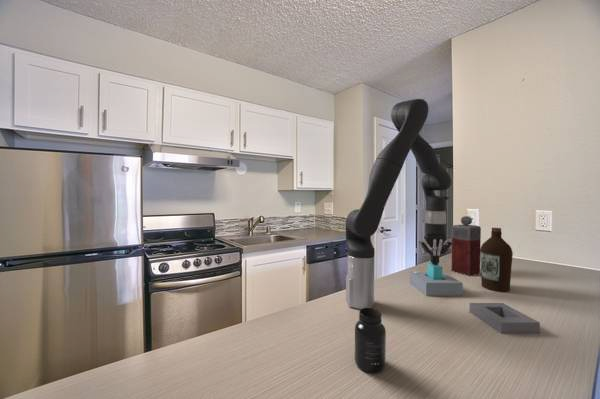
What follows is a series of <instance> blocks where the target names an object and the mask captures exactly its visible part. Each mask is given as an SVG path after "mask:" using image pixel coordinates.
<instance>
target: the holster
mask: <svg viewBox="0 0 600 399" xmlns="http://www.w3.org/2000/svg"><path fill="white" fill-rule="evenodd" d="M468 311H469V313H471V314H472V315H473V316H475V317H477V318H478V319H479V320H481V321H482V322H484V323H485V324H487V325H488V326H489V327H491V328H492V329H494V330H495V331H496V332H498V333H500V334H540V332H541V331H540V329H541V322H539V321H538V320H536V319H534V318H532V317H531V316H528V315H526V314H525V313H523V312H521V311H519V310H517V309H515V308H513V307H512V306H509V305H507V304H506V303H504V302H469V310H468Z"/></svg>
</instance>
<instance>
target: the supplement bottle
mask: <svg viewBox="0 0 600 399" xmlns="http://www.w3.org/2000/svg"><path fill="white" fill-rule="evenodd" d="M358 311H359V312H358V314H359V315H358V321H356V323H355V325H354V362H355V364H356V366H357V367H358V368H359V369H360V370H361V369H362V371H363V372H365V371H366V373H369V374H377V373H381V372H382V371H384V369H385V368H386V359H387V358H386V352H387V350H386V348H387V347H386V346H387V345H386V344H387V342H386V340H387V337H386V335H387V334H386V333H387V330H386V327H385V325H384V324H383V323H382V313H381V311H379V310H378V309H376V308H373V307H372V308H363V309H359V310H358Z"/></svg>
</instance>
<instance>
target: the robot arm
mask: <svg viewBox="0 0 600 399" xmlns="http://www.w3.org/2000/svg"><path fill="white" fill-rule="evenodd" d="M428 115H429V104H428V102H427V100H425V99H423V98H414V99H410V100H409V99H408V100H405V101H400V102H398V103H396V104H395V105H393V107H392V108H391V112H390V118H391V121H392V123H393V125H394V127H395V128H396V130H397V132H398V133H397V135H395V137H394V138H393V139H391V141H390V142H389V143H388V144H387V145H386V146H385V147H384V148H383V149H381V151H380V152H379V153H378V155H377V156H376V158H375V161H374V163H373V165H372V168H371V170H370V172H369V173H370V174H369V178H368V187H367V192H366V196H365V198H364V199H363V202H362V204H361V206H360V207H359V209H358V208H357V209H353V210H351V211H350V212H349V213H348V214H347V216H346V220H345V245H346V248H347V274H346V275H345V301H346V304H347V306H348V307H349V308H355V309H357V310H361V309H363V308H373V307H375V258H376V257H375V253H376V252H375V247H374V246H373V243H372V236H373V235H374V234H376V232H377V231H378V229H379V225H380V223H381V219H382V216H383V213H384V211H385V207H386V205H387V201H388V200H389V197H390V195H391V193H392V191H393V189H394V187H395V184H396V182H397V180H398V178H399V176H400V173H401V172H402V169H403V167H404V164H405V161H406V160H407V157H408V155H409V153H410V151H411V153H412V154H413V156H414V158H415V161H416V163H417V165H418V168H419V170H420V171H421V173H423V174H424V175H423V176H422V179H421V187H422V191H423V194H424V197H425V216H424V219H425V220H424V222H425V224H424V234H425V235H424V237H423V239H422V240H421V241H418V245H420V246H421V248H422V250H424V252H425V253H426V254H429V255H430V263H432V264H433V265H439V264H440V256H441V255H445V254H446V252H447V251H448V250H449V248H450V247H452V241H449V240H448V239H447V236H446V234H447V213H446V202H447V200H446V198H445V197H444V196H439V195H437V194H436V193H435V191H447V190H448V189H450V187H451V186H452V178H451V176H450V174H449V172H448V171H447V170H446V169H445V168H444V167H443V165H442V164H441V163H440V162H439V159H438V156H437V154H436V152H435V150H434V148H433V146H431V144H429V142H428V141H426V140H425V138H424V137H422V136H421V135H420V134H419V133H420V132H421V130H422V128H423V127H424V125H425V123H426V121H427V119H428Z"/></svg>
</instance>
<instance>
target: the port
mask: <svg viewBox="0 0 600 399" xmlns="http://www.w3.org/2000/svg"><path fill="white" fill-rule="evenodd" d="M463 283H464V282H462V281H460V280H458V279H457V278H454V277H453V276H451V275H449V274H448V273H445V272H443V271H442V280H432V279H430V278H429V277H427V271H409V284H411V286H413V287H414V288H415V289H417V290H418V291H419V292H421V293H422V294H423V295H424V296H426V297H440V296H441V297H446V296H447V297H451V296H452V297H453V296H454V297H457V296H458V297H459V296H460V297H461V296H463V287H464V285H463Z"/></svg>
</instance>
